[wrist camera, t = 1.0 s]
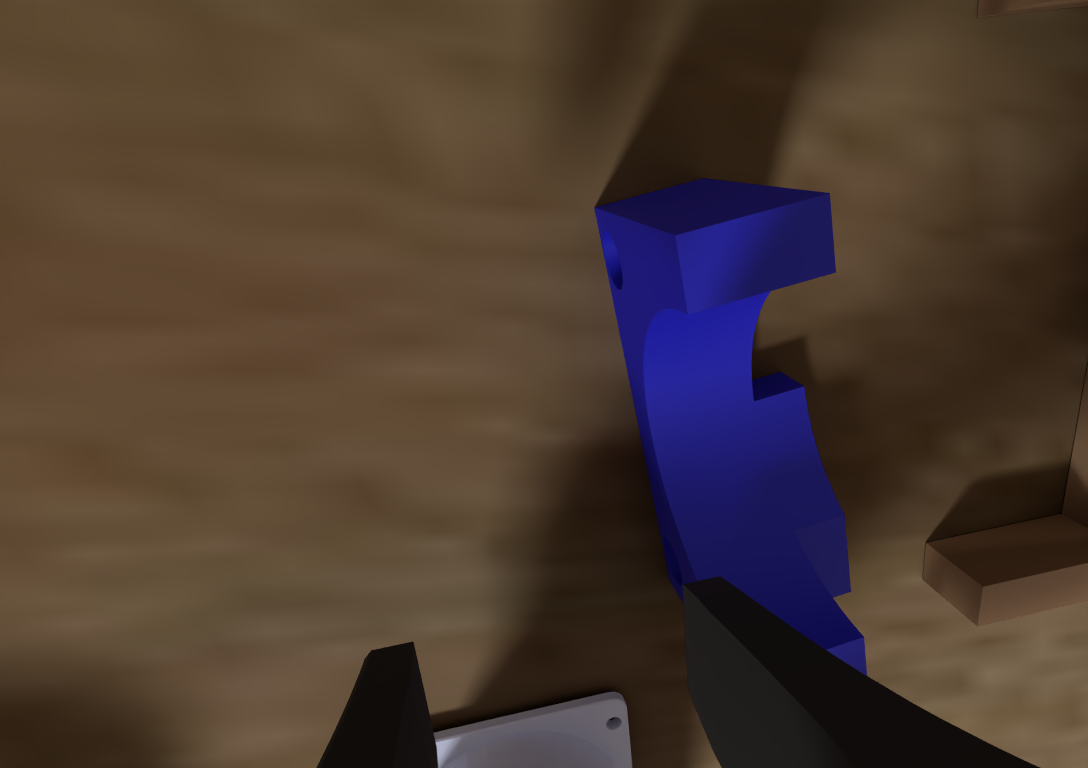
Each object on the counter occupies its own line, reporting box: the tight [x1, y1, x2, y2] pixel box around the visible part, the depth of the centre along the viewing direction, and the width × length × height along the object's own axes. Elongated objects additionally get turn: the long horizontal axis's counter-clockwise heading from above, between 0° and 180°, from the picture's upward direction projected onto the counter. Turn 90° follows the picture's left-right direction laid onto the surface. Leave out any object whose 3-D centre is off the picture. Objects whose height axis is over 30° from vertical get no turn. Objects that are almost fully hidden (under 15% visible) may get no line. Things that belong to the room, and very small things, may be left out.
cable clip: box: [594, 178, 867, 676], centre depth 17 cm, size 12×4×6 cm, turn 13°
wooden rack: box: [923, 0, 1088, 626], centre depth 20 cm, size 19×7×2 cm, turn 7°
